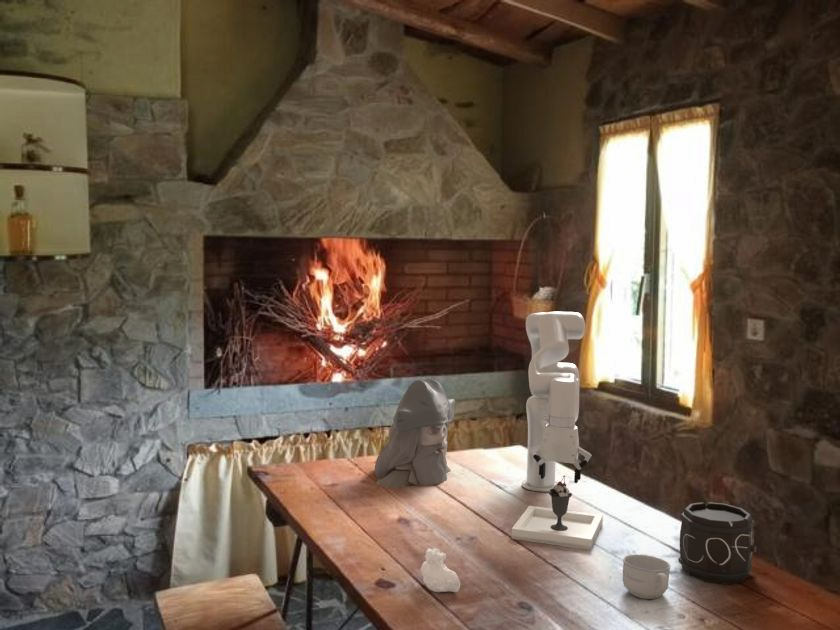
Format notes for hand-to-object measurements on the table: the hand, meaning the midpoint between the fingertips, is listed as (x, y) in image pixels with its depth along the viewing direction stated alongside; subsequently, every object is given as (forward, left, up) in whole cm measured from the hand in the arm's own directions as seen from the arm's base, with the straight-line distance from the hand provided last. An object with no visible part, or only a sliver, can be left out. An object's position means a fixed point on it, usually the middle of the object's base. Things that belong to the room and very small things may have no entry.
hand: (559, 479), depth 239 cm
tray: (+1, 0, -15) cm, 15 cm away
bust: (-36, -57, -15) cm, 69 cm away
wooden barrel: (+15, +43, -15) cm, 48 cm away
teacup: (+37, +28, -15) cm, 49 cm away
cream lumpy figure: (+52, -19, -15) cm, 57 cm away
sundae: (0, 0, -14) cm, 14 cm away
